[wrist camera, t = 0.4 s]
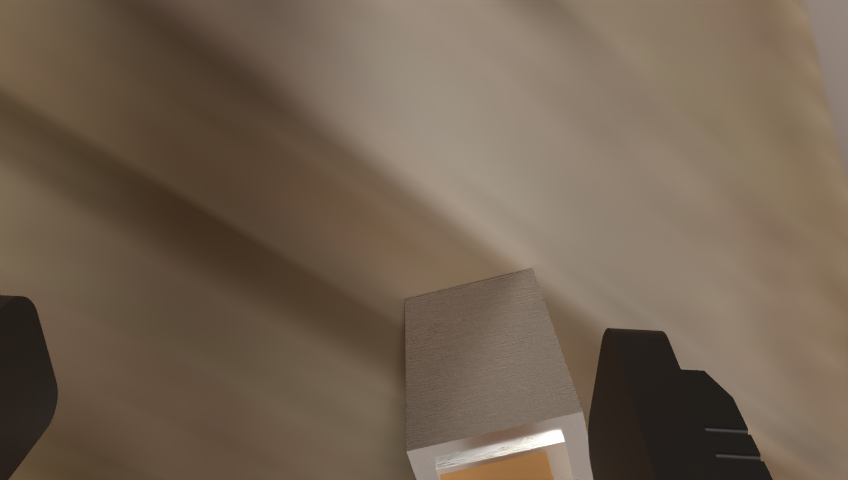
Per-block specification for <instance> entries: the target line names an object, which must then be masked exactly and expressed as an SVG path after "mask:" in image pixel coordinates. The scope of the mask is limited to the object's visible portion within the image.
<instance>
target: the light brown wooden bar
mask: <svg viewBox="0 0 848 480" xmlns="http://www.w3.org/2000/svg"><path fill="white" fill-rule="evenodd" d="M440 480H553V477H552V473H551V469H550V465H549V461H548V457H547V453H546V451H544V452H540V453H535V454H531V455H526V456H522V457H517V458H513V459H508V460H504V461H499V462H495V463H490V464H486V465H481V466H477V467H472V468H468V469H463V470H459V471H454V472H450V473H445V474H441V475H440Z"/></svg>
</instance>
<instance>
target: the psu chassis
mask: <svg viewBox="0 0 848 480" xmlns="http://www.w3.org/2000/svg"><path fill="white" fill-rule="evenodd" d="M405 340H406V452H407V454H408V457H409V460H410V463H411V466H412V468H413V471H414V474H415V477H416V479H417V480H440V475H441V474H445V473H450V472H454V471H459V470H463V469H468V468H472V467H477V466H481V465H486V464H490V463H495V462H499V461H504V460H508V459H513V458H517V457H522V456H526V455H531V454H535V453H540V452H544V451H546V453H547V457H548V461H549V465H550V469H551V473H552V477H553V480H593V475H592V470H591V465H590V458H589V447H588V435H587V430H586V425H585V421H584V416H583V411H582V408H581V406H580V403H579V400H578V397H577V394H576V391H575V388H574V386H573V383H572V380H571V377H570V374H569V371H568V368H567V366H566V363H565V360H564V357H563V354H562V351H561V348H560V346H559V343H558V340H557V337H556V334H555V331H554V328H553V326H552V323H551V320H550V317H549V314H548V311H547V308H546V306H545V303H544V300H543V297H542V294H541V291H540V288H539V286H538V283H537V280H536V277H535V274H534V271H533V268H532V269H528V270H524V271H520V272H516V273H512V274H508V275H504V276H500V277H496V278H492V279H488V280H484V281H479V282H475V283H471V284H467V285H463V286H459V287H455V288H451V289H447V290H443V291H439V292H435V293H430V294H426V295H422V296H418V297H414V298H410V299H406V300H405Z"/></svg>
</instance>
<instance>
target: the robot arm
mask: <svg viewBox="0 0 848 480" xmlns="http://www.w3.org/2000/svg"><path fill="white" fill-rule="evenodd" d="M57 394H58V390H57V383H56V378H55V375H54V371H53V368H52V364H51V360H50V357H49V353H48V349H47V346H46V342H45V339H44V335H43V331H42V328H41V324H40V320H39V317H38V313H37V310H36V308H35V306H34V304H33V303H32V302H31V300H29V299H28V298H26V297H22V296H5V295H0V480H8V479H9V478H10V477H11V475H12V474H13V473H14V471H15V470H16V469H17V467H18V466H19V465H20V464H21V462H22V461H23V460H24V458H25V457H26V456H27V454H28V453H29V452H30V450H31V449H32V448H33V446H34V445H35V444H36V442H37V441H38V440H39V438H40V437H41V436H42V434H43V433H44V432H45V430H46V429H47V427H48V426H49V424H50V422H51V420H52V418H53V415H54V412H55V409H56V404H57ZM588 447H589V458H590V465H591V470H592V475H593V480H773V479H772V477H771V475H770V473H769V471H768V469H767V467H766V465H765V463H764V462H763V461H761V460H760V452H759V450H758V448H757V446H756V444H755V442H754V440H753V438H752V436H751V435H748V428H747V426H746V424H745V422H744V420H743V418H742V416H741V413H740V411H739V409H738V407H737V405H736V403H735V401H734V399H733V397H731V396H730V395H729V394H728V393H727V392H726V391H725V390H724V389H723V388H722V387H721V386H720V385H719V384H718V383H717V382H715V381H714V380H713V379H712V378H711V377H710V376H709V375H708V374H707V373H706V372H705V371H698V370H681V369H680V366H679V364H678V362H677V359H676V357H675V354H674V352H673V349H672V347H671V345H670V342H669V340H668V337H667V335H666V334H665V333H664V332H663V331H651V330H632V329H613V328H607V329H606V331H605V332H604V335H603V339H602V344H601V349H600V355H599V361H598V367H597V373H596V379H595V385H594V391H593V397H592V403H591V409H590V416H589V426H588Z"/></svg>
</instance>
